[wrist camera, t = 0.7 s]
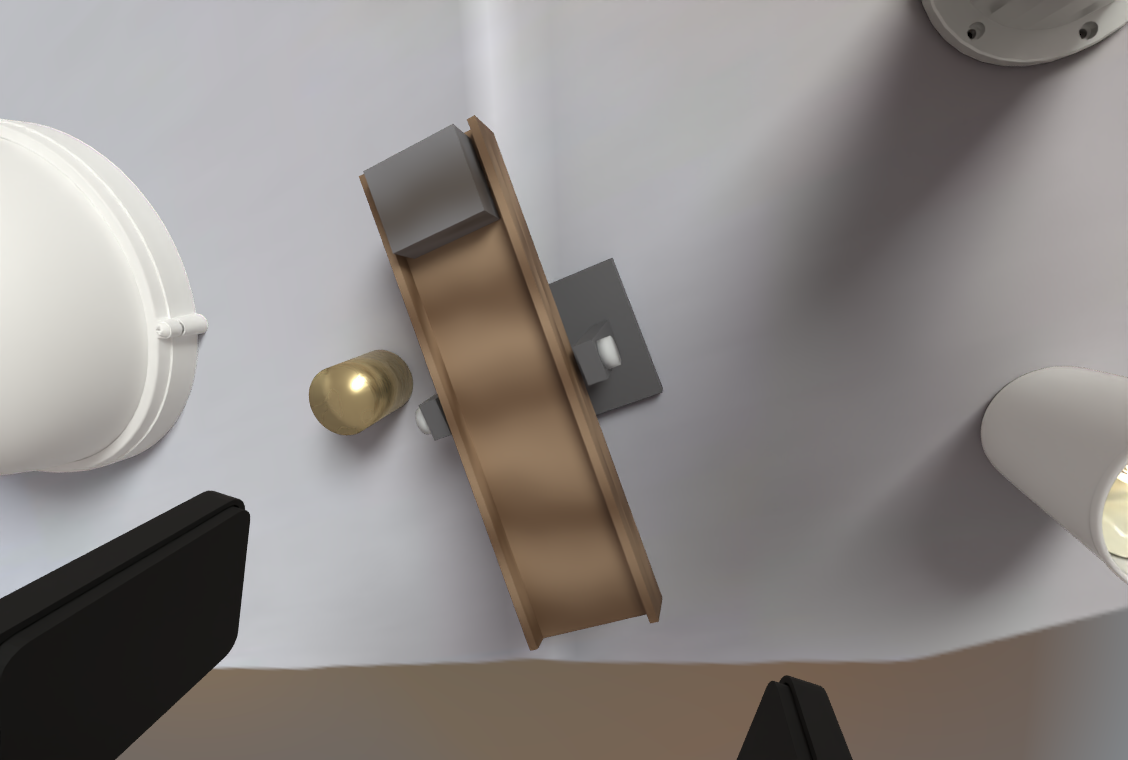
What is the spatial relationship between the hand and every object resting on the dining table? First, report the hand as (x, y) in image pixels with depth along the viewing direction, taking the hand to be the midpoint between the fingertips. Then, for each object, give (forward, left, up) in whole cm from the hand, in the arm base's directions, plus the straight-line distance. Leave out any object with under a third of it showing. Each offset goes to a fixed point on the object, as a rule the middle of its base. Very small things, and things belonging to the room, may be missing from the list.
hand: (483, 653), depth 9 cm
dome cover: (+27, -43, -32) cm, 60 cm away
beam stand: (+5, -4, -32) cm, 33 cm away
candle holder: (-11, +26, -32) cm, 43 cm away
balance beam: (+5, -4, -24) cm, 25 cm away
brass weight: (+14, -14, -32) cm, 38 cm away
